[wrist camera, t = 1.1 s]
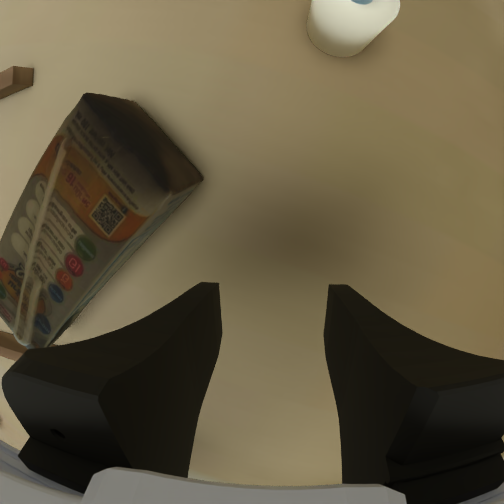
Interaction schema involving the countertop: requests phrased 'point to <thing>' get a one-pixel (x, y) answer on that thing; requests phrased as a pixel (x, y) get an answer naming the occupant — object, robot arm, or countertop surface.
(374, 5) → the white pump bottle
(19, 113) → the countertop surface
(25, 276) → the beverage carton
